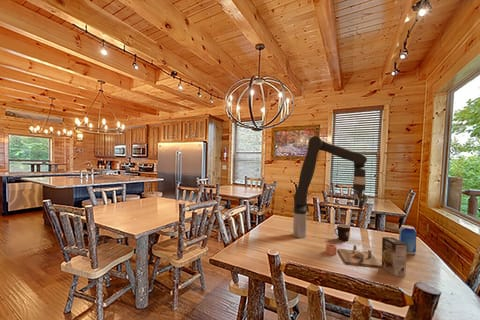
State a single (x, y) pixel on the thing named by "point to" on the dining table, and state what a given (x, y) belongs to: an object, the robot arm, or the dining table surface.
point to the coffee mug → (343, 232)
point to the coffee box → (394, 256)
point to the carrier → (359, 257)
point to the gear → (331, 249)
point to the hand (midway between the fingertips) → (358, 206)
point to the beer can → (408, 238)
